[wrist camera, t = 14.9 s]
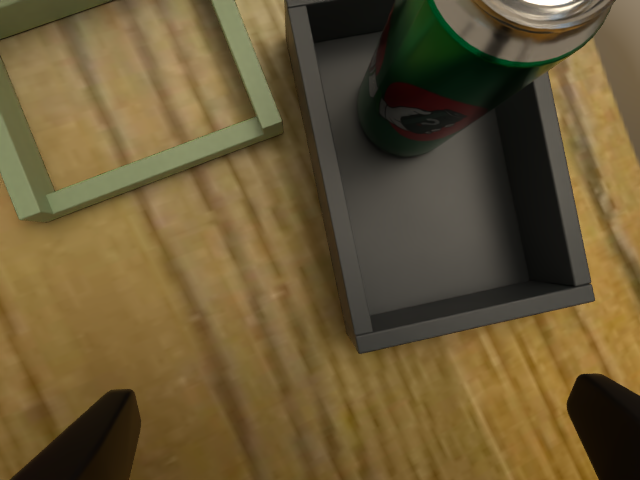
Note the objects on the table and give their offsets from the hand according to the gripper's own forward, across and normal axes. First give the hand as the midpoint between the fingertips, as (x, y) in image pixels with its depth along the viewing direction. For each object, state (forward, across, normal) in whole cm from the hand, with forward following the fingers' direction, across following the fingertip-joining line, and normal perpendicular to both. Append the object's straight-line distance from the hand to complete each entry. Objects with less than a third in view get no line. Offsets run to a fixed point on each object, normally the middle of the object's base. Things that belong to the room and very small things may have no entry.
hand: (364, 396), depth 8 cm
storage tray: (+15, -5, 0) cm, 16 cm away
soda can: (+16, -4, -3) cm, 17 cm away
